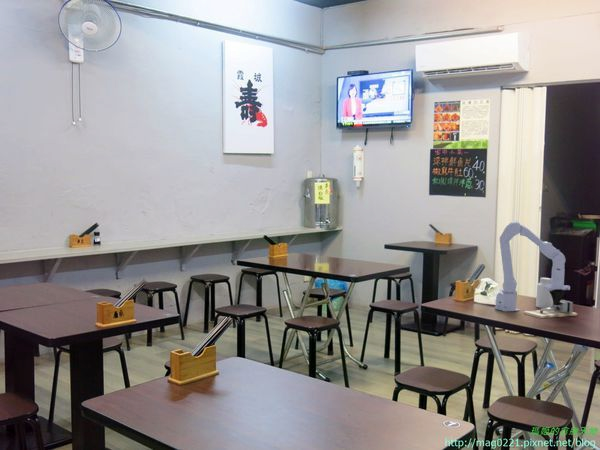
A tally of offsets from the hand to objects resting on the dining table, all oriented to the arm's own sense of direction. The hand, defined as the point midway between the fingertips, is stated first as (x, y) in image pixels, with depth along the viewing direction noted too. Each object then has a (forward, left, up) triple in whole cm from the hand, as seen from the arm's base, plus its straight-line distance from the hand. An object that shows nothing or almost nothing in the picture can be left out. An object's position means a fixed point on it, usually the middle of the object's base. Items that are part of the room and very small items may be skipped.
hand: (556, 305), depth 301 cm
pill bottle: (+7, +15, -5) cm, 17 cm away
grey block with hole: (+3, 0, -3) cm, 4 cm away
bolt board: (-4, 0, -4) cm, 6 cm away
